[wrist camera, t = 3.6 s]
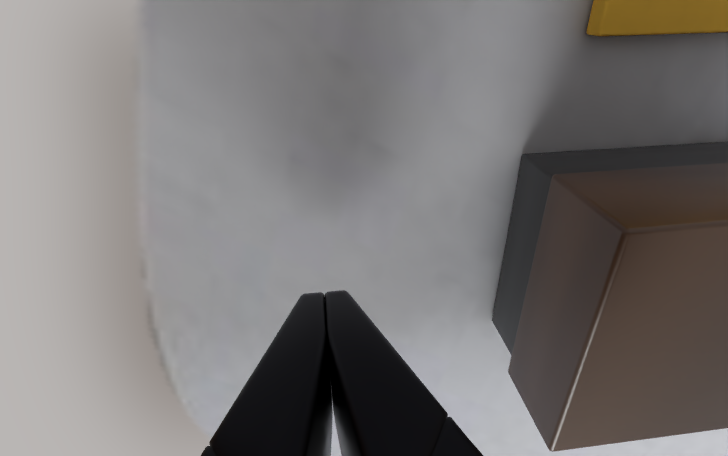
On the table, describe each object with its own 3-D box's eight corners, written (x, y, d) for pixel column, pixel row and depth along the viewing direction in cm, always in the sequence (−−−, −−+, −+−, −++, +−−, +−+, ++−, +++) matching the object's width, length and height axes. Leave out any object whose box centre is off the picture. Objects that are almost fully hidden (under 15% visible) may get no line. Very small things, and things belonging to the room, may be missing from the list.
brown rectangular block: (482, 326, 11) (549, 454, 8) (513, 144, 9) (626, 230, 6) (723, 302, 12) (867, 411, 9) (817, 127, 9) (1063, 195, 6)
